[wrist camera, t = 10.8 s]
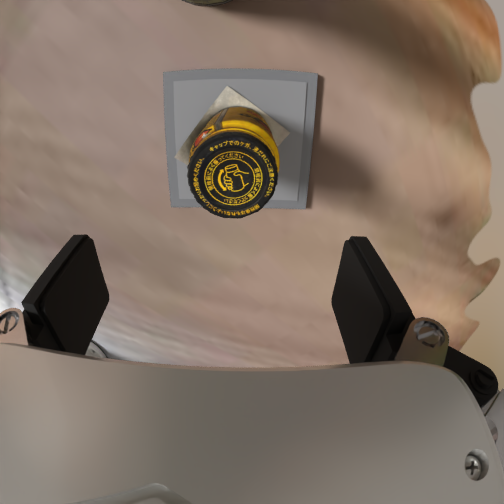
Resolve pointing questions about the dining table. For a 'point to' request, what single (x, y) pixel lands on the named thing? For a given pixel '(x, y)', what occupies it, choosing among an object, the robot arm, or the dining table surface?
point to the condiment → (233, 157)
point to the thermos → (207, 2)
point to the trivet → (262, 96)
